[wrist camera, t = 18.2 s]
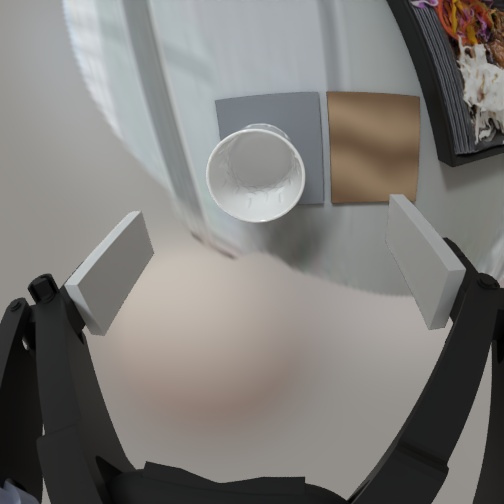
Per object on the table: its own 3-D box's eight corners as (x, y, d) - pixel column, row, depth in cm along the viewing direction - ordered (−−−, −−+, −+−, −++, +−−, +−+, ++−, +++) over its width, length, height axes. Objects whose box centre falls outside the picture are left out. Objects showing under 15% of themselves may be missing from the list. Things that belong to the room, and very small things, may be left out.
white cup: (245, 105, 29) (231, 111, 20) (310, 138, 30) (323, 159, 22) (215, 166, 33) (191, 197, 24) (277, 196, 34) (275, 237, 25)
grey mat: (216, 100, 29) (215, 100, 29) (317, 91, 28) (317, 91, 27) (231, 207, 36) (230, 208, 35) (322, 201, 34) (323, 203, 34)
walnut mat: (326, 91, 28) (327, 91, 27) (417, 96, 26) (419, 96, 26) (331, 201, 34) (331, 203, 34) (413, 199, 33) (415, 201, 32)
